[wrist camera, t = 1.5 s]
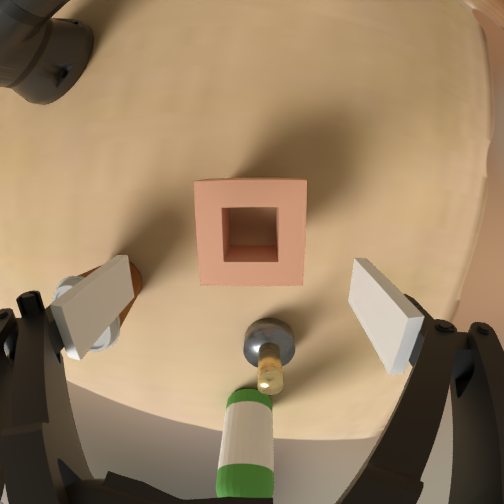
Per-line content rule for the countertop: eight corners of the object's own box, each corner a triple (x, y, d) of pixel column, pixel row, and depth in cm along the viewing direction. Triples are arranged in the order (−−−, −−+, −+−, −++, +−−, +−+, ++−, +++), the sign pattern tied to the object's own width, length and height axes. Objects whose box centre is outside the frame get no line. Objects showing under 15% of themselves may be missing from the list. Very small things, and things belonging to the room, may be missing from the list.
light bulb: (244, 318, 37) (238, 365, 28) (294, 317, 37) (303, 364, 27) (245, 356, 39) (241, 404, 30) (291, 356, 39) (297, 404, 29)
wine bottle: (278, 407, 43) (283, 560, 14) (238, 415, 44) (224, 560, 15) (262, 381, 41) (260, 557, 12) (220, 391, 42) (193, 553, 13)
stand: (224, 184, 32) (216, 188, 26) (283, 184, 31) (288, 187, 26) (226, 241, 34) (218, 256, 28) (282, 241, 34) (287, 256, 28)
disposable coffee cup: (156, 259, 35) (115, 299, 23) (148, 316, 38) (114, 366, 26) (99, 239, 34) (46, 269, 23) (95, 295, 37) (53, 335, 26)
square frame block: (205, 179, 26) (193, 181, 21) (298, 177, 25) (306, 180, 21) (210, 265, 28) (200, 285, 24) (296, 265, 28) (303, 285, 23)
